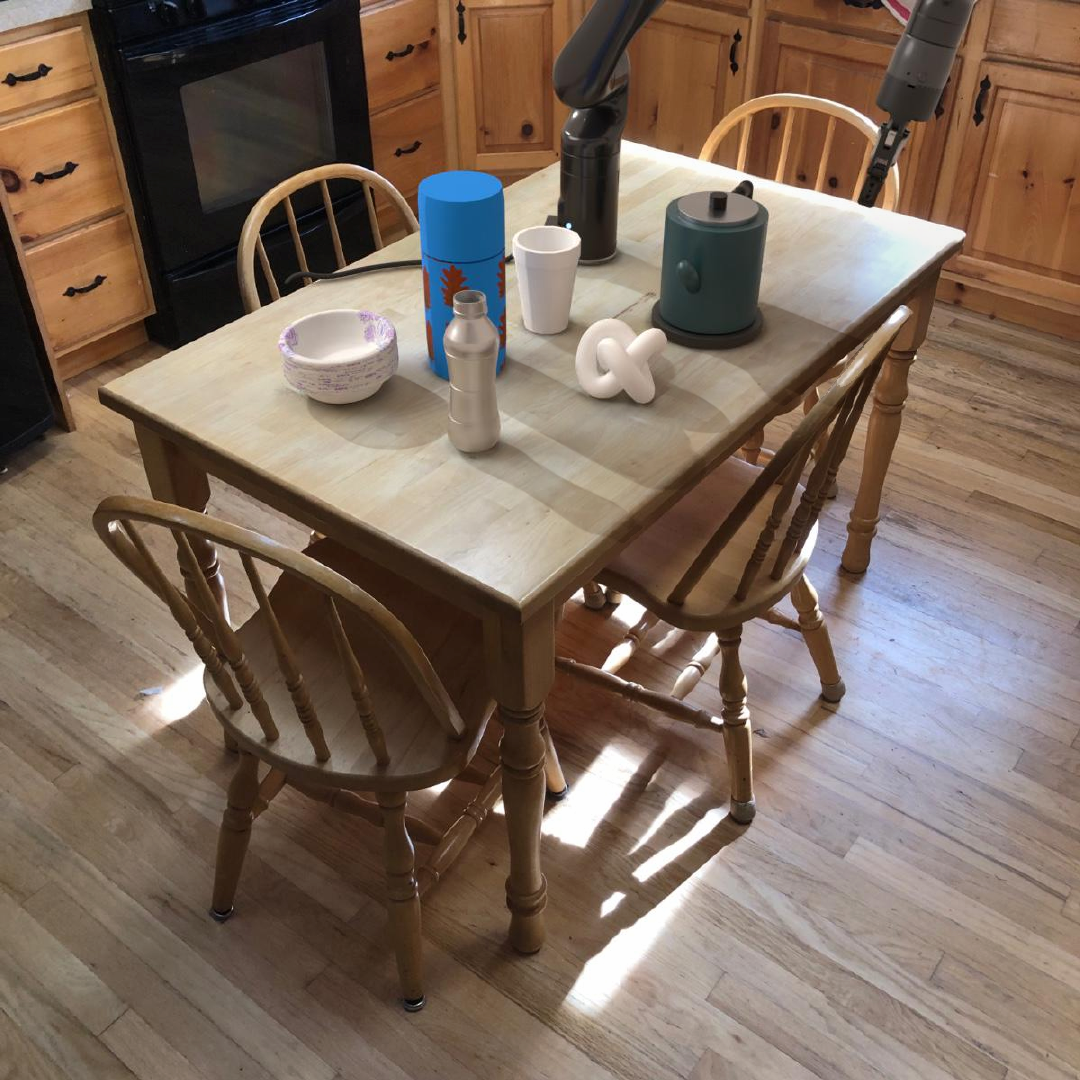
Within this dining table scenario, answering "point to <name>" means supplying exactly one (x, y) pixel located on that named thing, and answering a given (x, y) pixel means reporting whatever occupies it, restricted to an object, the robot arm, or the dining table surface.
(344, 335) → the paper bowls
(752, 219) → the kettle
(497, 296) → the thermos
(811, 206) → the dining table surface
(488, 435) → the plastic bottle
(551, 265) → the foam cup
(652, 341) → the white knot sculpture
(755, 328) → the kettle base
